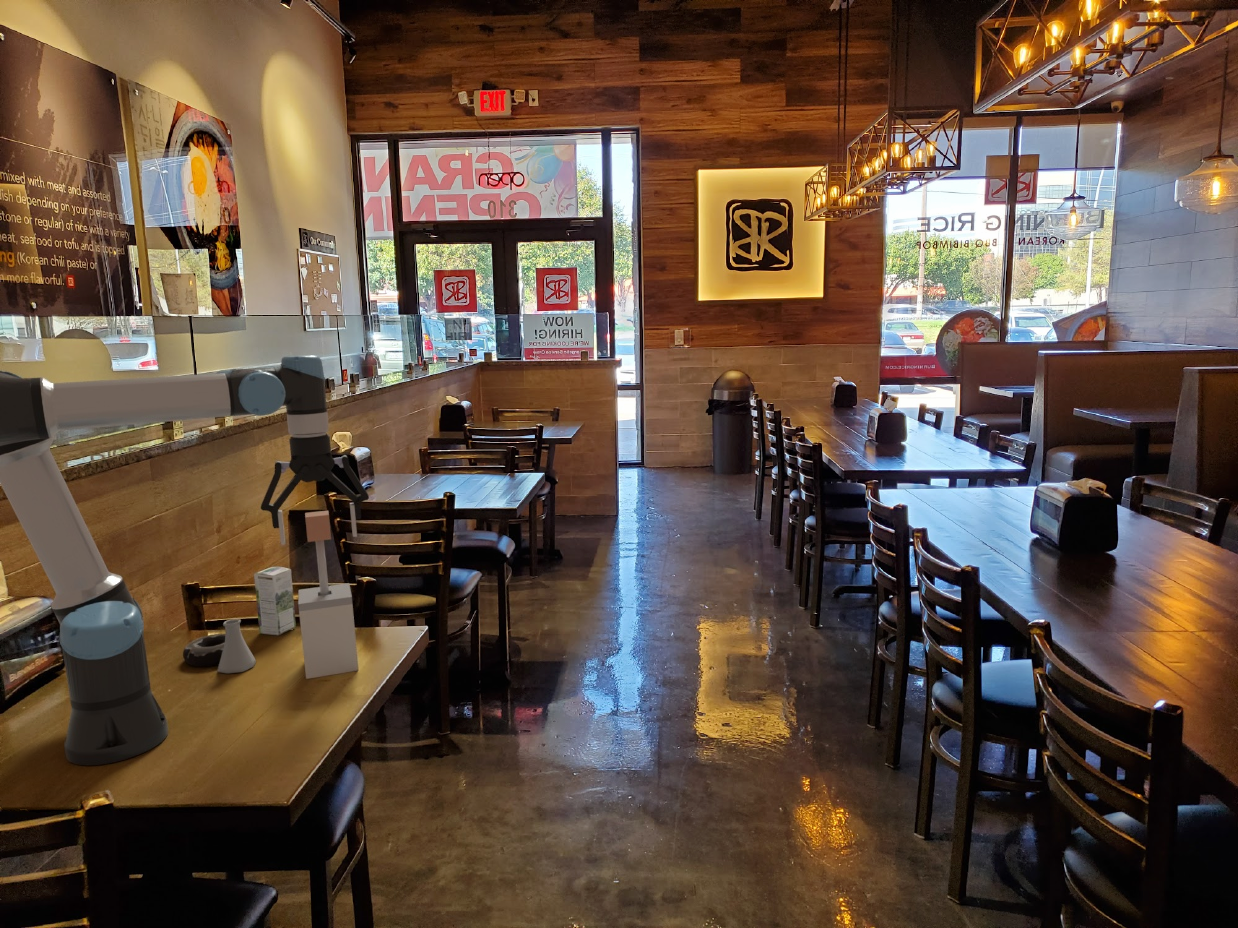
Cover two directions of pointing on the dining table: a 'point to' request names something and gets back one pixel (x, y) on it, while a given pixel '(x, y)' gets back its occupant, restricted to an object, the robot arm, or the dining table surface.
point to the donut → (205, 650)
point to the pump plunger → (319, 542)
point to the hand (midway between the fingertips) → (319, 539)
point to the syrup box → (275, 600)
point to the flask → (235, 650)
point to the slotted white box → (328, 631)
